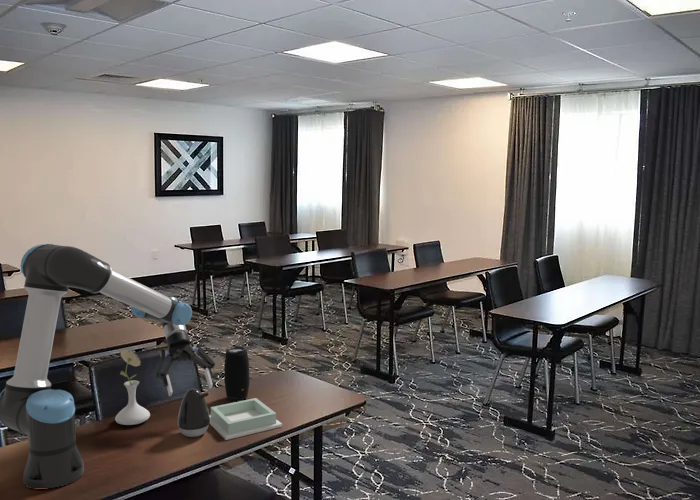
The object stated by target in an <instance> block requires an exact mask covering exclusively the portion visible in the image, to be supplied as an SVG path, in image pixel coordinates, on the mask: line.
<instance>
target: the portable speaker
mask: <svg viewBox="0 0 700 500" xmlns="http://www.w3.org/2000/svg"><path fill="white" fill-rule="evenodd" d="M249 360H250V359H249V356H248V349H247V348H246V347H245V346H241V345H236V346H235V347H234V346H233V347H231V348H226V349H225V358H224V361H223V362H224V368H223V369H224V370H223V371H224V372H223V373H224V375H223V376H224V377H223V378H224V379H223V380H224V381H223V382H224V387H225V388H224V389H225V394H226V398H227V401H229V402H230V403H234V402H236V401H237V402H238V401H240V400H244V399H246V398H247V397H248V395H249V388H250V361H249ZM248 398H249V397H248ZM248 398H247V399H248ZM247 399H246V400H247Z"/></svg>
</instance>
